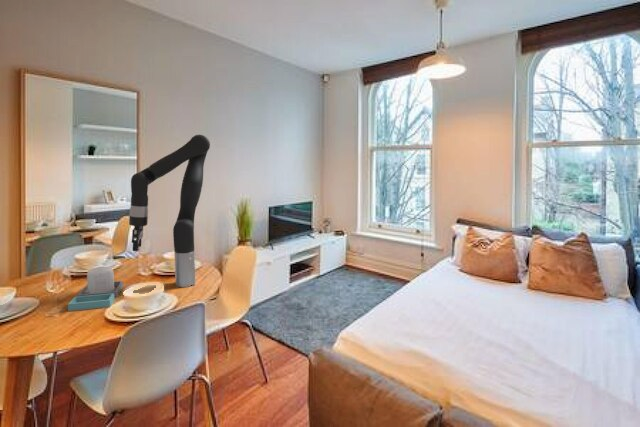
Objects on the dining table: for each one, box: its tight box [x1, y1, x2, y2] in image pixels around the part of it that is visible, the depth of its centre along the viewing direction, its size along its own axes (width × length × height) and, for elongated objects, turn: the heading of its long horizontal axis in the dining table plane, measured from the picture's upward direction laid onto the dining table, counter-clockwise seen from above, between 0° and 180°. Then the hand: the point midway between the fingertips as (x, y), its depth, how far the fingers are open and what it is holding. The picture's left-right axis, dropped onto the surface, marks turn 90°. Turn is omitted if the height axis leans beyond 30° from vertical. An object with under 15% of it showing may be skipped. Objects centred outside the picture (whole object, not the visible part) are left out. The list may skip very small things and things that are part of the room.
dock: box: [67, 293, 116, 312], centre depth 139 cm, size 15×8×3 cm, turn 110°
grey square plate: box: [76, 280, 124, 298], centre depth 152 cm, size 15×15×2 cm
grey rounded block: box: [86, 266, 115, 294], centre depth 151 cm, size 10×4×12 cm, turn 123°
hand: (136, 248), depth 156 cm, fingers open, 8 cm apart
